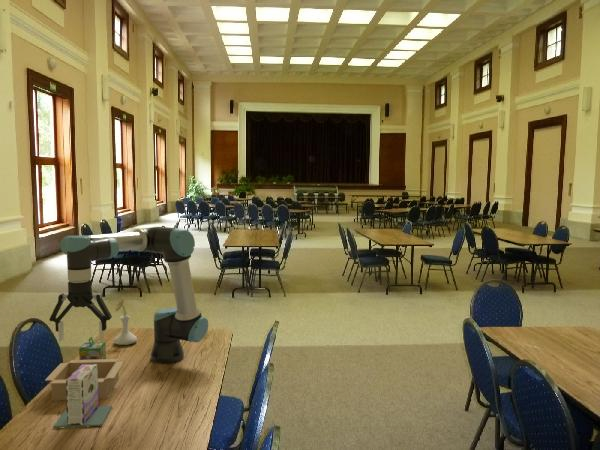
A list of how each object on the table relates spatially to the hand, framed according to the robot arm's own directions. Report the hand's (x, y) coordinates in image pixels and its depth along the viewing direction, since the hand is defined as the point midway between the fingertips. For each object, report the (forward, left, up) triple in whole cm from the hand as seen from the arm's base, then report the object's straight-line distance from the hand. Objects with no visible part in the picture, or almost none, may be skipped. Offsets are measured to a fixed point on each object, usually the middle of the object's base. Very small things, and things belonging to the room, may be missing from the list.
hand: (81, 339), depth 178 cm
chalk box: (+9, -44, -29) cm, 53 cm away
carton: (+6, -24, -29) cm, 38 cm away
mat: (0, 0, -29) cm, 29 cm away
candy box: (0, 0, -28) cm, 28 cm away
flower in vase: (+3, -78, -29) cm, 83 cm away
